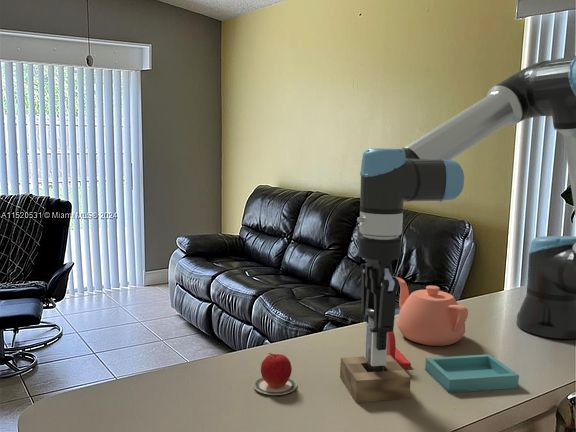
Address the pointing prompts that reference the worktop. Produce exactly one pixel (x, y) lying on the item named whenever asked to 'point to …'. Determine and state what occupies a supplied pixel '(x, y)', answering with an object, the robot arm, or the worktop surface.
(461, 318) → the teapot
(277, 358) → the apple
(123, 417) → the worktop surface
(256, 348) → the worktop surface
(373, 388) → the block
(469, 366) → the tray
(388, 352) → the bracket
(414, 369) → the worktop surface
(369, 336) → the pin
